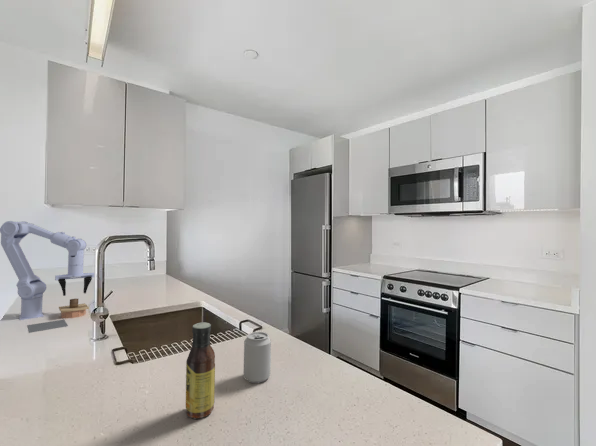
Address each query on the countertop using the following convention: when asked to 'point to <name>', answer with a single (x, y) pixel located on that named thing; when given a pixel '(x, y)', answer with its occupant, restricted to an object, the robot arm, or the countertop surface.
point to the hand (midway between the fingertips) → (74, 294)
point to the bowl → (73, 314)
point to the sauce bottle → (200, 373)
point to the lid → (73, 306)
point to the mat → (46, 326)
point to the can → (257, 357)
